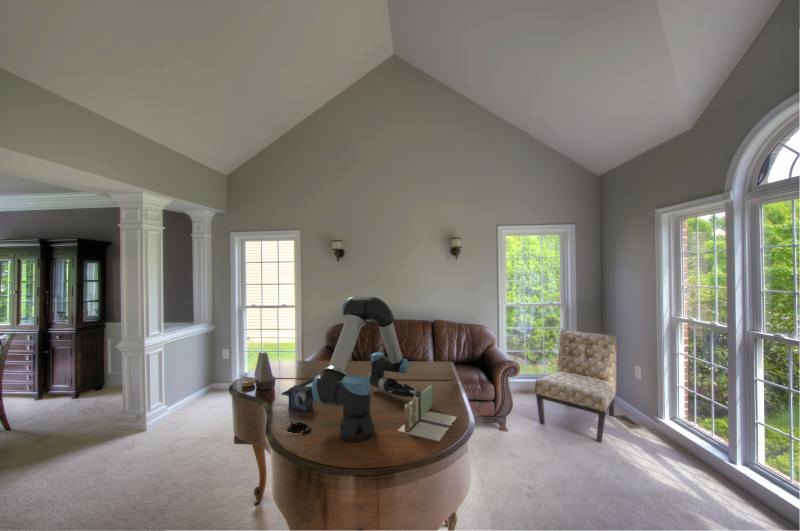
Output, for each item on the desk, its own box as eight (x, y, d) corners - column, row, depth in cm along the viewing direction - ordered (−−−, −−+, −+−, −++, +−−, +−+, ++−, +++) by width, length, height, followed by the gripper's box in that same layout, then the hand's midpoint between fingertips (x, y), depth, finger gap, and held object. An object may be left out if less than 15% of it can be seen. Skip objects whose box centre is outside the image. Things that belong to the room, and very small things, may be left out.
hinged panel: (421, 417, 151) (421, 395, 151) (417, 416, 152) (417, 395, 152) (433, 405, 164) (433, 385, 165) (429, 404, 165) (429, 385, 166)
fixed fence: (408, 433, 138) (408, 401, 138) (403, 432, 139) (403, 400, 140) (422, 420, 151) (421, 390, 151) (416, 419, 152) (416, 389, 152)
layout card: (439, 441, 132) (439, 440, 132) (397, 431, 140) (397, 430, 140) (457, 417, 153) (457, 416, 153) (420, 410, 162) (420, 409, 162)
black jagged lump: (283, 440, 134) (283, 428, 135) (279, 430, 143) (279, 419, 143) (312, 433, 140) (312, 422, 140) (307, 424, 149) (307, 413, 149)
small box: (287, 410, 163) (287, 389, 163) (295, 405, 169) (295, 384, 170) (306, 412, 160) (306, 391, 160) (313, 407, 166) (313, 386, 167)
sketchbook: (281, 395, 184) (281, 391, 184) (315, 379, 212) (315, 376, 212) (311, 401, 175) (311, 397, 176) (343, 383, 203) (343, 380, 203)
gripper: (397, 388, 184) (428, 400, 167) (379, 394, 175) (410, 407, 158) (397, 375, 184) (428, 385, 167) (379, 380, 176) (410, 392, 158)
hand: (419, 396), depth 163 cm, fingers closed
